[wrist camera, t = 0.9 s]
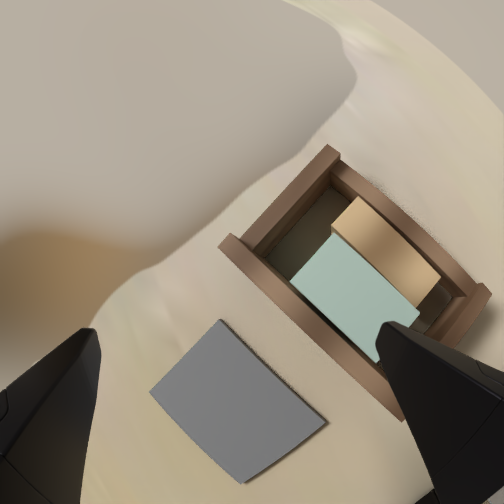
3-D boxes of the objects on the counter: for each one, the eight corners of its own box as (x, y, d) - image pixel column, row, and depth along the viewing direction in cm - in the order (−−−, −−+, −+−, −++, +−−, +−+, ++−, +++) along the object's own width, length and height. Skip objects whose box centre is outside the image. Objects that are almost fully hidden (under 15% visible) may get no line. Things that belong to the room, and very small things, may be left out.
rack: (469, 295, 20) (506, 292, 14) (386, 394, 20) (401, 422, 15) (328, 166, 24) (326, 129, 19) (243, 259, 25) (217, 247, 19)
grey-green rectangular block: (383, 307, 22) (420, 313, 12) (356, 336, 22) (376, 363, 12) (332, 259, 23) (333, 232, 14) (306, 288, 23) (289, 281, 14)
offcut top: (432, 279, 20) (441, 277, 18) (407, 307, 20) (415, 308, 18) (355, 204, 22) (358, 195, 20) (330, 231, 22) (331, 225, 20)
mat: (325, 420, 21) (325, 422, 21) (242, 481, 22) (240, 484, 21) (220, 318, 25) (218, 319, 24) (151, 390, 25) (148, 392, 25)
